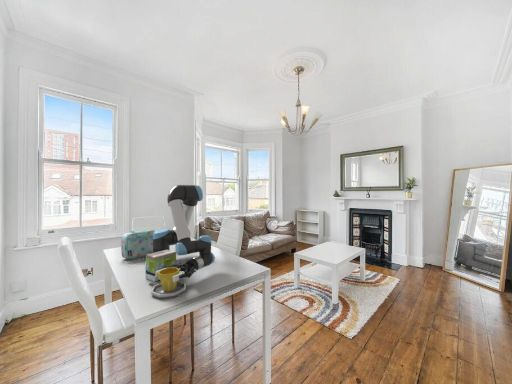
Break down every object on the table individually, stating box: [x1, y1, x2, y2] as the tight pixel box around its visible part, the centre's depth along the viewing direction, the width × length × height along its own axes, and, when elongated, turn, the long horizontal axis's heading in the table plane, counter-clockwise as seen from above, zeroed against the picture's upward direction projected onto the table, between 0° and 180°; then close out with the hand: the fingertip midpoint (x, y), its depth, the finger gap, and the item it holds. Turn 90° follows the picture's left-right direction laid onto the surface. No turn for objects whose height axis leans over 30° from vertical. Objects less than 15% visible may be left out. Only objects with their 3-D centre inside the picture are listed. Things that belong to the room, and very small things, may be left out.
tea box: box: [144, 249, 177, 283], centre depth 136 cm, size 15×10×15 cm
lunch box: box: [120, 229, 156, 260], centre depth 176 cm, size 27×10×21 cm, turn 148°
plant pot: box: [158, 267, 180, 292], centre depth 116 cm, size 10×10×10 cm
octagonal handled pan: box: [148, 280, 187, 300], centre depth 118 cm, size 25×17×2 cm
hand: (164, 276), depth 114 cm, fingers open, 13 cm apart
